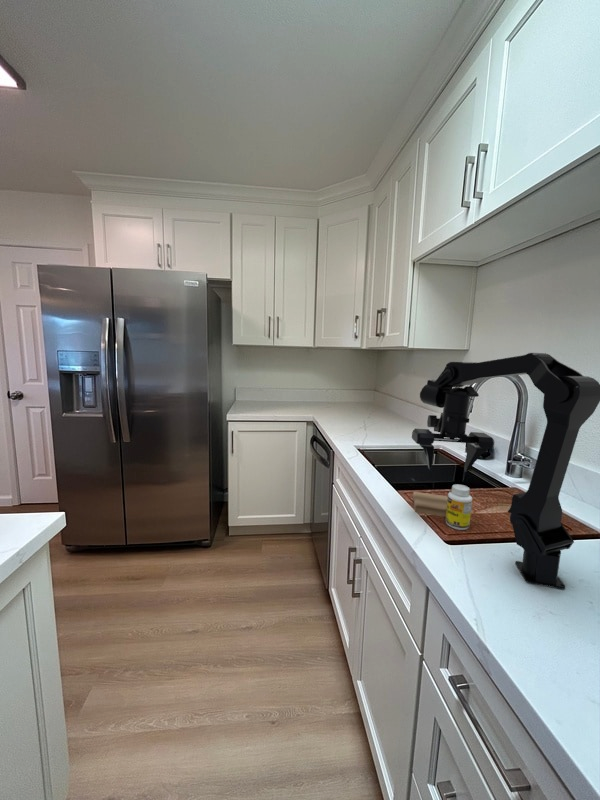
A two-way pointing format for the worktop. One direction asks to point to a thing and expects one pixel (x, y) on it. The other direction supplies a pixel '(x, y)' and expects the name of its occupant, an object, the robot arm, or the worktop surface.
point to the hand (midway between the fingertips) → (447, 470)
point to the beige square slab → (430, 504)
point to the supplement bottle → (459, 507)
